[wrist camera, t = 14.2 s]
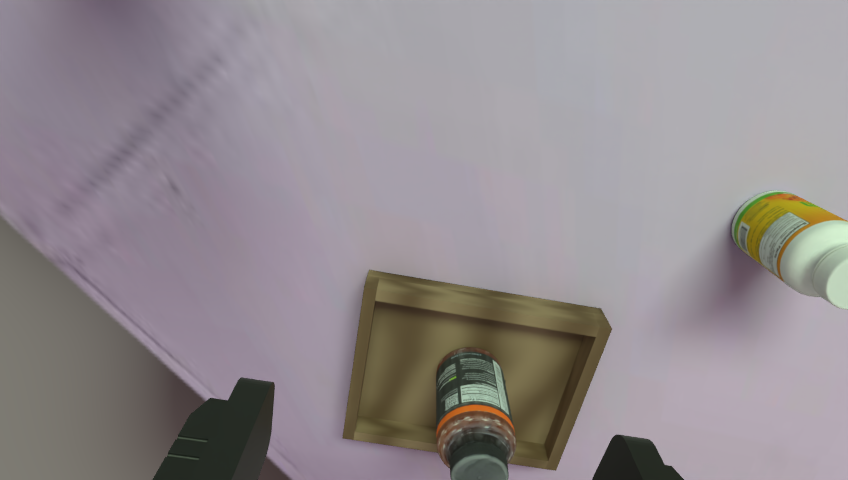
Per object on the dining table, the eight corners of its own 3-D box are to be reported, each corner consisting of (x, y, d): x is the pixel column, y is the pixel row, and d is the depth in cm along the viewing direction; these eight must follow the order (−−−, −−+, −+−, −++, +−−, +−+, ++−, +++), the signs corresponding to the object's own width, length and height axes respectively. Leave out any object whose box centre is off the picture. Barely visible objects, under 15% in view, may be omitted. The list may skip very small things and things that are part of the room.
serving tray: (348, 414, 48) (342, 438, 45) (369, 269, 42) (364, 287, 39) (549, 445, 49) (555, 470, 46) (600, 308, 42) (612, 328, 40)
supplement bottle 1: (485, 405, 46) (500, 518, 35) (425, 385, 45) (422, 495, 35) (514, 356, 43) (538, 461, 33) (451, 334, 43) (455, 435, 32)
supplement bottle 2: (817, 213, 38) (930, 272, 30) (761, 264, 40) (852, 334, 31) (769, 175, 37) (871, 224, 28) (714, 229, 39) (794, 292, 30)
